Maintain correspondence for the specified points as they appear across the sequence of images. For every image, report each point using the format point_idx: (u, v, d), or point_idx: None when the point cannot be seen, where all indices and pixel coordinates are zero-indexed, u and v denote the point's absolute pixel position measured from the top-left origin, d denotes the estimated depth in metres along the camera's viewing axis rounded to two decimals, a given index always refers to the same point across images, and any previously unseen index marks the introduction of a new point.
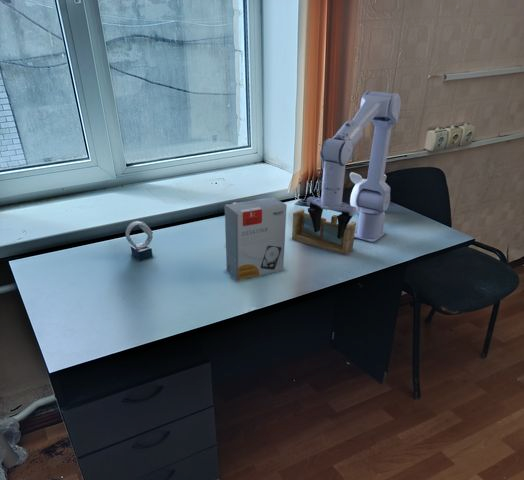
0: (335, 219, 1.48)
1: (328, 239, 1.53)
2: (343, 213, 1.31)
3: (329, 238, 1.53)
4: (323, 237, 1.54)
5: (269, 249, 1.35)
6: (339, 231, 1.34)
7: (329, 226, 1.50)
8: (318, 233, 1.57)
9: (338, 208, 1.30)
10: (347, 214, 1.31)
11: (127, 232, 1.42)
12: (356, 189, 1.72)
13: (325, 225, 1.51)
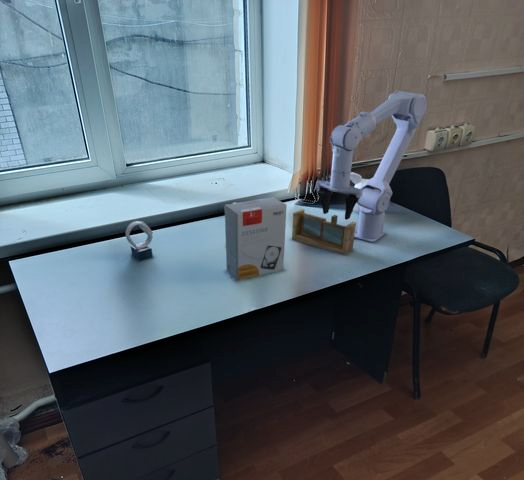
0: (335, 219, 1.48)
1: (328, 239, 1.53)
2: (350, 195, 1.42)
3: (329, 238, 1.53)
4: (323, 237, 1.54)
5: (269, 249, 1.35)
6: (346, 212, 1.45)
7: (329, 226, 1.50)
8: (318, 233, 1.57)
9: (346, 190, 1.41)
10: (354, 196, 1.41)
11: (127, 232, 1.42)
12: None
13: (325, 225, 1.51)
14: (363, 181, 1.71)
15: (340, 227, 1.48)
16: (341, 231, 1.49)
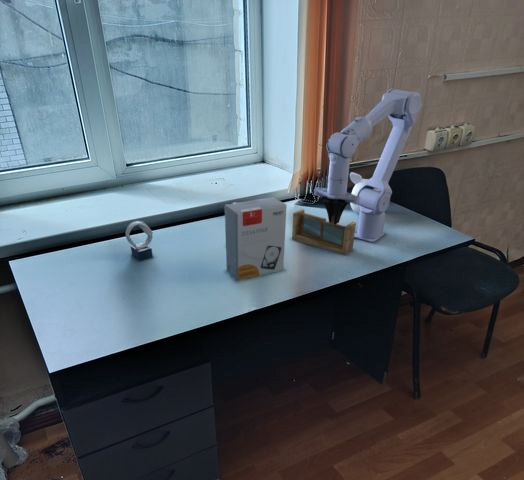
0: None
1: (328, 239, 1.53)
2: (339, 200, 1.43)
3: (329, 238, 1.53)
4: (323, 237, 1.54)
5: (269, 249, 1.35)
6: (335, 217, 1.46)
7: (329, 226, 1.50)
8: (318, 233, 1.57)
9: (343, 197, 1.41)
10: (343, 201, 1.43)
11: (127, 232, 1.42)
12: (356, 189, 1.72)
13: (325, 225, 1.51)
14: (363, 181, 1.71)
15: (340, 227, 1.48)
16: (341, 231, 1.49)
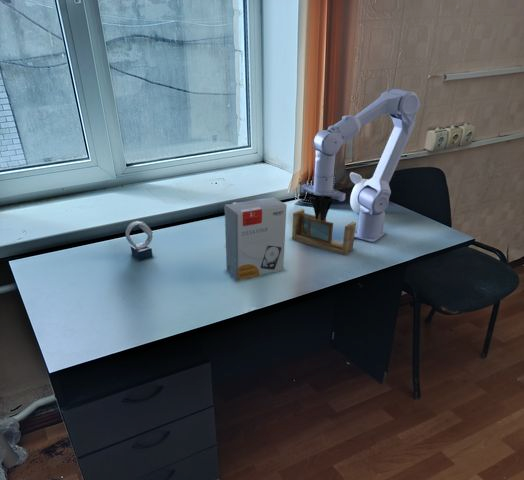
0: None
1: (315, 235, 1.55)
2: (325, 197, 1.46)
3: (316, 234, 1.55)
4: (310, 233, 1.56)
5: (269, 249, 1.35)
6: (322, 213, 1.48)
7: (316, 223, 1.53)
8: None
9: (329, 194, 1.43)
10: (329, 198, 1.45)
11: (127, 232, 1.42)
12: (356, 189, 1.72)
13: (312, 222, 1.53)
14: (363, 181, 1.71)
15: (327, 223, 1.50)
16: (328, 227, 1.51)
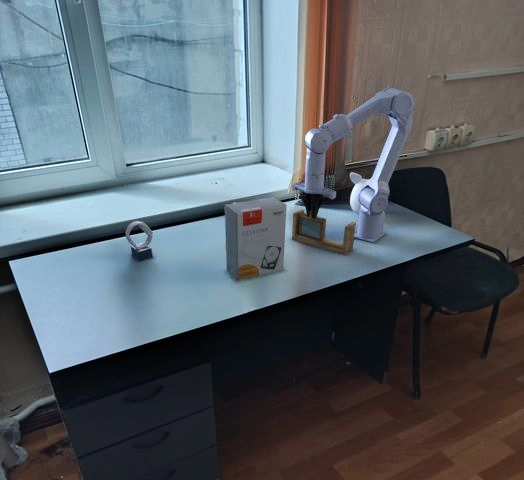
0: None
1: (307, 233, 1.57)
2: (316, 195, 1.47)
3: (308, 232, 1.56)
4: (302, 231, 1.58)
5: (269, 249, 1.35)
6: (313, 211, 1.50)
7: (307, 220, 1.54)
8: None
9: (320, 192, 1.45)
10: (319, 195, 1.47)
11: (127, 232, 1.42)
12: (356, 189, 1.72)
13: (304, 219, 1.55)
14: (363, 181, 1.71)
15: (318, 221, 1.52)
16: (319, 225, 1.53)
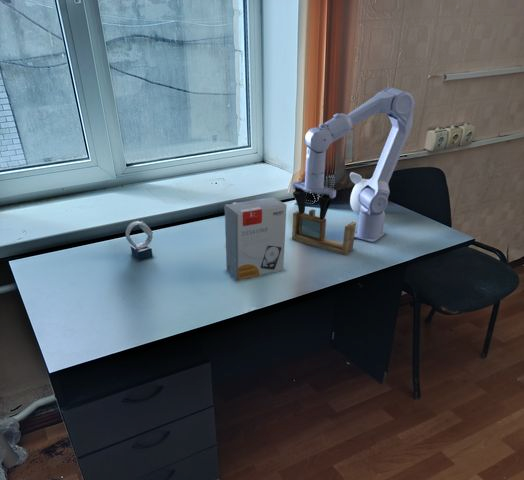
0: (312, 214, 1.52)
1: (307, 233, 1.57)
2: (324, 196, 1.46)
3: (308, 232, 1.56)
4: (302, 231, 1.58)
5: (269, 249, 1.35)
6: (321, 212, 1.48)
7: (307, 220, 1.54)
8: None
9: (320, 191, 1.45)
10: (328, 196, 1.45)
11: (127, 232, 1.42)
12: (356, 189, 1.72)
13: (303, 219, 1.55)
14: (363, 181, 1.71)
15: (318, 221, 1.52)
16: (319, 225, 1.53)
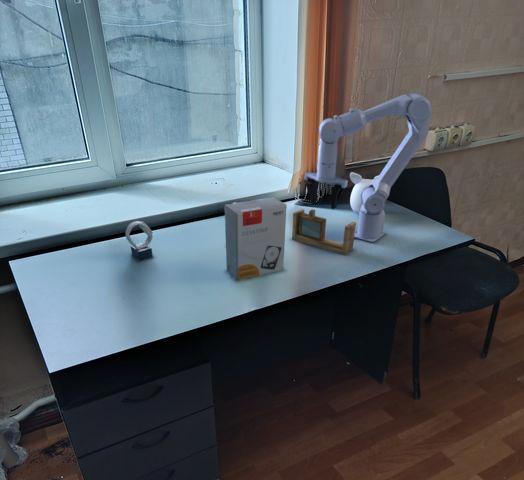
0: (312, 214, 1.52)
1: (307, 233, 1.57)
2: (336, 185, 1.49)
3: (308, 232, 1.56)
4: (302, 231, 1.58)
5: (269, 249, 1.35)
6: (333, 202, 1.52)
7: (307, 220, 1.54)
8: None
9: (332, 181, 1.48)
10: (340, 186, 1.49)
11: (127, 232, 1.42)
12: (356, 189, 1.72)
13: (303, 219, 1.55)
14: (363, 181, 1.71)
15: (318, 221, 1.52)
16: (319, 225, 1.53)
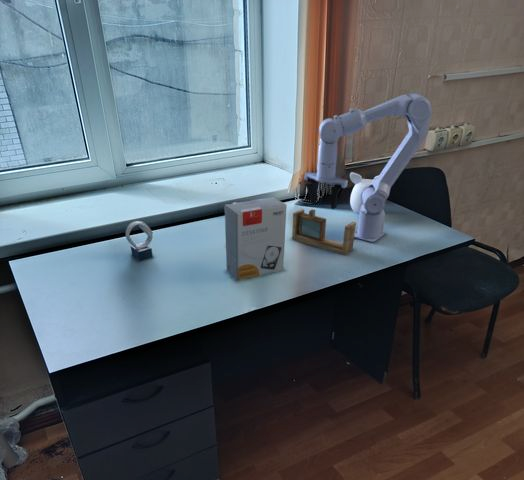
0: (312, 214, 1.52)
1: (307, 233, 1.57)
2: (336, 185, 1.49)
3: (308, 232, 1.56)
4: (302, 231, 1.58)
5: (269, 249, 1.35)
6: (333, 202, 1.52)
7: (307, 220, 1.54)
8: None
9: (332, 181, 1.48)
10: (340, 186, 1.49)
11: (127, 232, 1.42)
12: (356, 189, 1.72)
13: (303, 219, 1.55)
14: (363, 181, 1.71)
15: (318, 221, 1.52)
16: (319, 225, 1.53)
